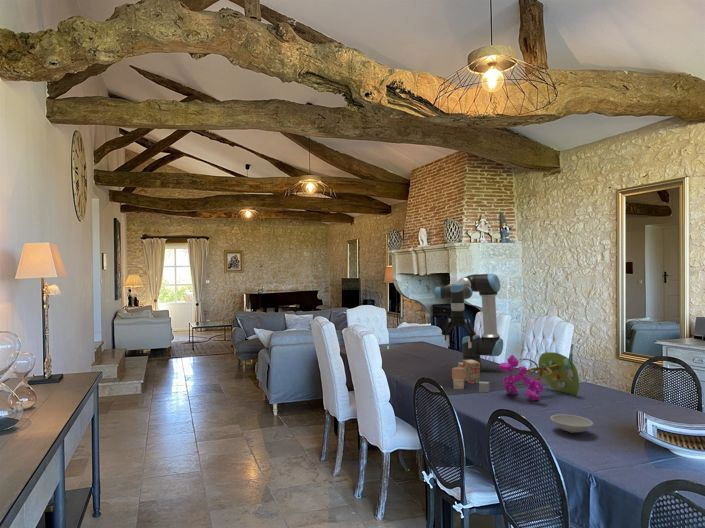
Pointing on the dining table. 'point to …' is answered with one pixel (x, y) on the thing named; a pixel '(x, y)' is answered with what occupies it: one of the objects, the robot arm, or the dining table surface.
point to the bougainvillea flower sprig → (542, 375)
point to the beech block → (458, 384)
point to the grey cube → (484, 386)
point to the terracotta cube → (458, 373)
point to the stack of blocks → (471, 370)
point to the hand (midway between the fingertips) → (458, 347)
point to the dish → (571, 422)
